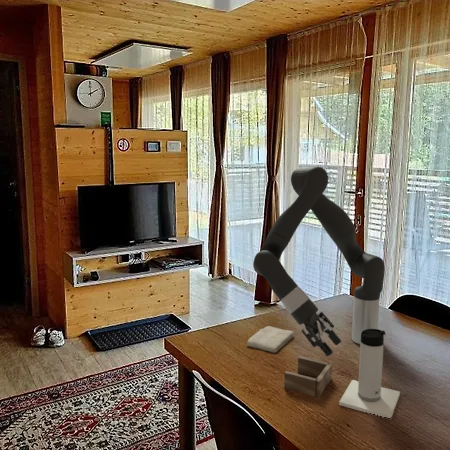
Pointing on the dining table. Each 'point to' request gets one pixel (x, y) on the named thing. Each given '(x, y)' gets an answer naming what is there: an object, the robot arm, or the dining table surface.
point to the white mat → (379, 407)
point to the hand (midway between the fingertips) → (334, 348)
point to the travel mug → (371, 364)
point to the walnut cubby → (308, 383)
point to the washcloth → (270, 339)
